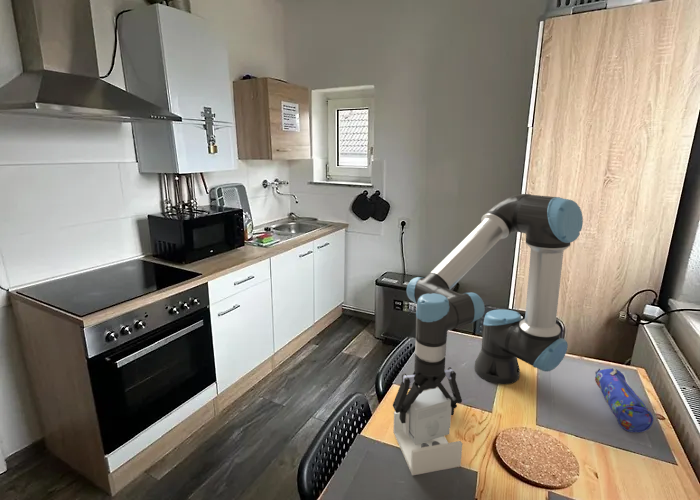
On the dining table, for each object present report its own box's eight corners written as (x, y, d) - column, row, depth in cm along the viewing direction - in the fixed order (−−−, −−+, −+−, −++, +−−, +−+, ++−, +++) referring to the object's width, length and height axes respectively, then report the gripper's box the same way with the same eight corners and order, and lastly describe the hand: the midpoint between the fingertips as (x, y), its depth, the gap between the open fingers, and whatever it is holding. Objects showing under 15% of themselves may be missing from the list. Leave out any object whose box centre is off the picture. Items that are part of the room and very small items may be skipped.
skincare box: (436, 418, 106) (438, 386, 103) (449, 434, 100) (452, 400, 97) (402, 428, 102) (404, 395, 99) (414, 445, 96) (416, 410, 93)
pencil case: (591, 386, 128) (596, 361, 125) (620, 390, 126) (626, 365, 123) (616, 432, 108) (622, 403, 105) (651, 438, 105) (658, 409, 103)
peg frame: (435, 425, 111) (437, 404, 109) (460, 466, 97) (462, 443, 95) (393, 432, 108) (393, 411, 106) (412, 475, 94) (413, 452, 92)
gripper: (465, 342, 101) (460, 412, 106) (380, 352, 96) (380, 425, 102) (480, 357, 93) (473, 431, 99) (389, 369, 89) (388, 446, 95)
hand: (426, 428), depth 101 cm, fingers closed on skincare box, 11 cm apart
